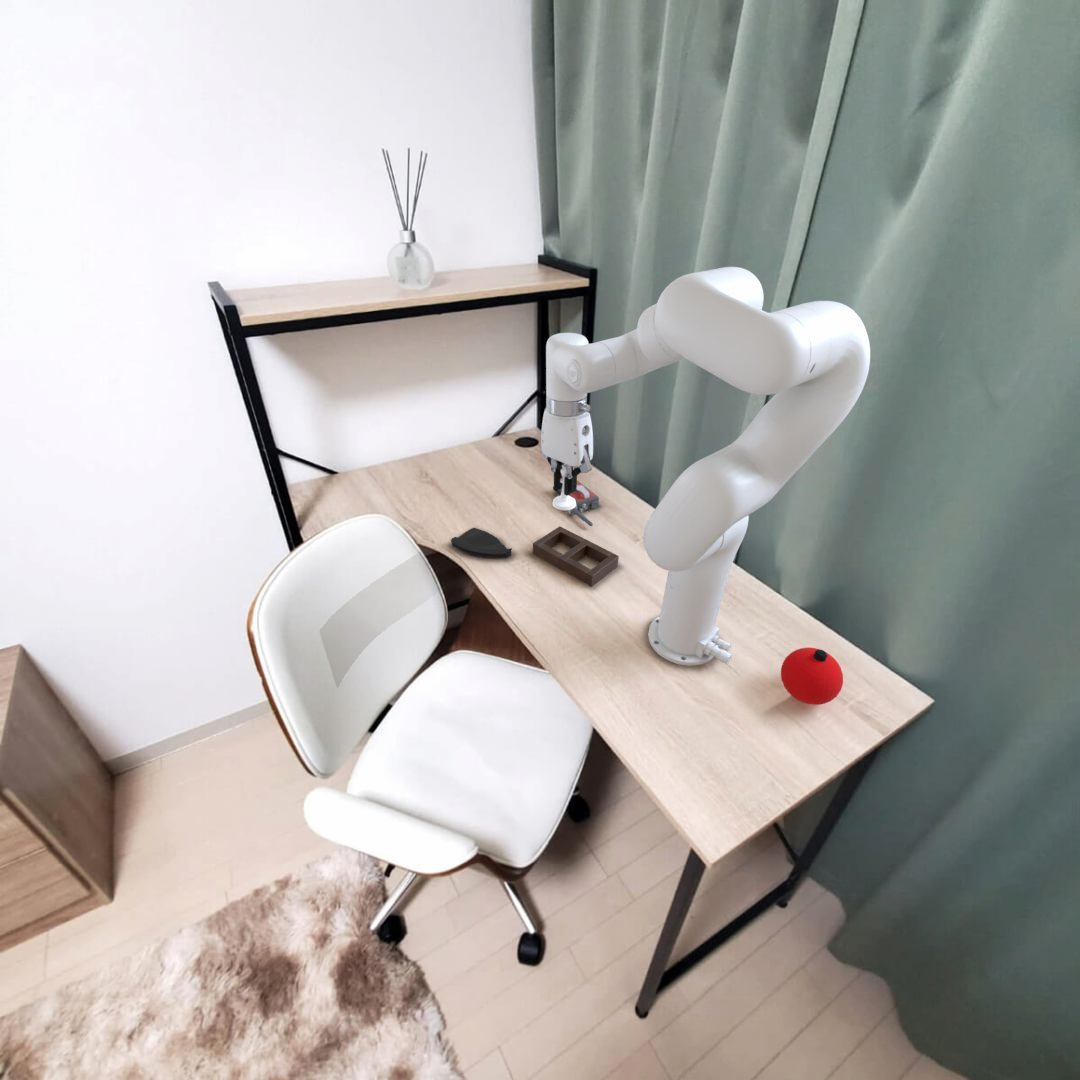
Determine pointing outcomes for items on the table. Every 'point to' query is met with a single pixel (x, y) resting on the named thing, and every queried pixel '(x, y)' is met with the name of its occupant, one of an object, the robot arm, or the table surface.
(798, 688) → the ornament
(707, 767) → the table surface
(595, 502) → the walkie-talkie
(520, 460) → the table surface
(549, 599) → the table surface
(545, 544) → the rack
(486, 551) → the curved wedge
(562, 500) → the chess piece
